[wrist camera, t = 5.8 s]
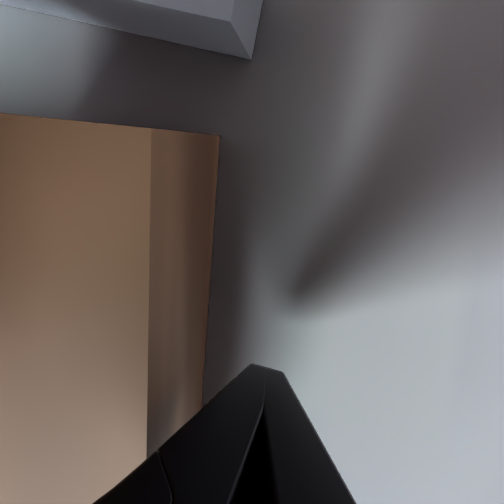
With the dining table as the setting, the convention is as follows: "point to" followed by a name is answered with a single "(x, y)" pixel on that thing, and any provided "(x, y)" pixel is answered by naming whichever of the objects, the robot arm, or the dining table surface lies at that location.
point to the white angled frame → (166, 19)
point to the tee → (99, 299)
